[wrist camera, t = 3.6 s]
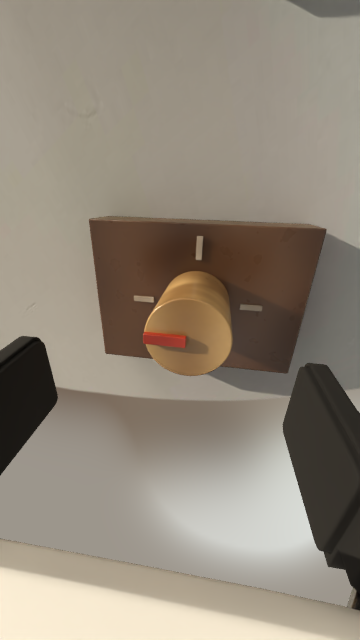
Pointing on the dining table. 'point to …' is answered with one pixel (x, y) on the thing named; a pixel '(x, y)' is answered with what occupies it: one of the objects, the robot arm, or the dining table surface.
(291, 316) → the panel
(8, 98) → the dining table surface
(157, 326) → the dial
